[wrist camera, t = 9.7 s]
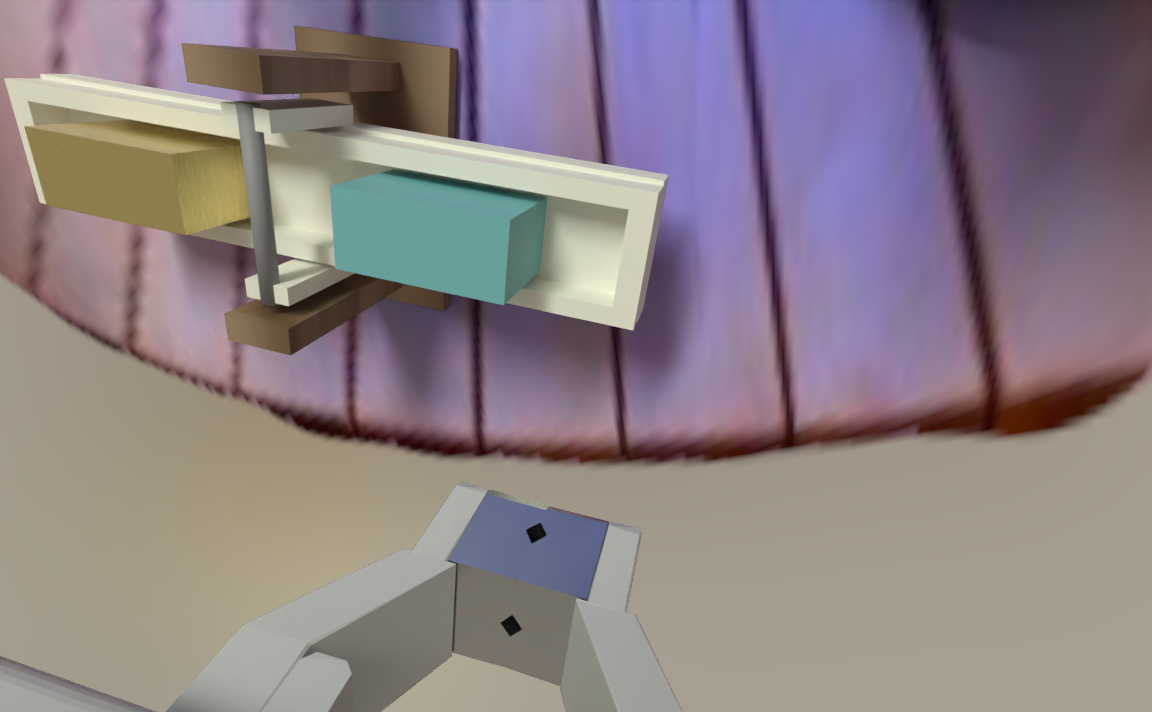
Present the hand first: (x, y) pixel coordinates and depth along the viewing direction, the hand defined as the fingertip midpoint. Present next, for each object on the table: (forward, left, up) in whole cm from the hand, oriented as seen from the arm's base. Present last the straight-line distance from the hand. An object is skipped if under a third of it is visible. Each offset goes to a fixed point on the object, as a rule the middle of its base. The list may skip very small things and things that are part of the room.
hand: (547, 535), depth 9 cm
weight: (-23, 0, -17) cm, 28 cm away
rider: (-9, 0, -17) cm, 19 cm away
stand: (-16, 0, -22) cm, 27 cm away
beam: (-16, 0, -18) cm, 24 cm away
